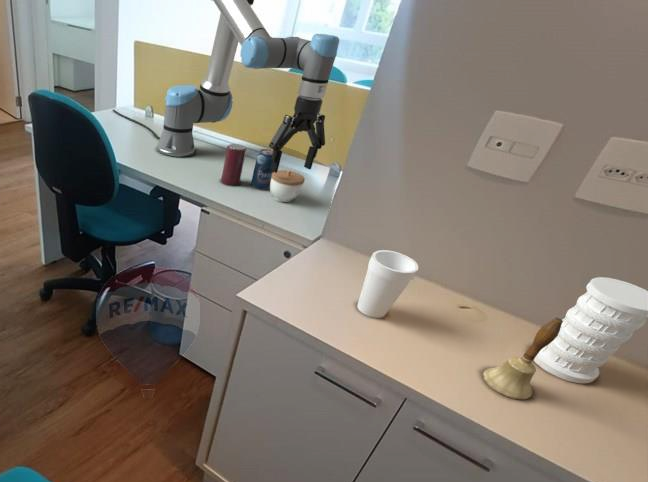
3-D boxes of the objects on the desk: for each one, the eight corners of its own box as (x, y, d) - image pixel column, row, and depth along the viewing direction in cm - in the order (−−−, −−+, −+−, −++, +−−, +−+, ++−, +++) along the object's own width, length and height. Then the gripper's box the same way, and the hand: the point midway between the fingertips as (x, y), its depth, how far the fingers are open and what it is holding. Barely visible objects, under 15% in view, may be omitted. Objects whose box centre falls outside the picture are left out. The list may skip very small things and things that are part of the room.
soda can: (255, 190, 155) (264, 155, 147) (247, 183, 160) (254, 148, 152) (273, 190, 157) (282, 155, 149) (264, 182, 162) (272, 148, 154)
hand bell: (487, 391, 85) (540, 327, 75) (479, 364, 91) (527, 301, 81) (536, 405, 83) (597, 341, 73) (524, 376, 89) (579, 313, 79)
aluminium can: (217, 179, 160) (223, 144, 152) (233, 178, 163) (240, 143, 155) (226, 186, 156) (233, 150, 148) (242, 185, 158) (250, 149, 150)
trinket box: (299, 207, 147) (307, 179, 140) (266, 202, 148) (273, 174, 142) (297, 194, 155) (305, 167, 149) (266, 190, 156) (273, 163, 150)
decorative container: (609, 383, 89) (685, 312, 78) (558, 383, 88) (627, 312, 77) (564, 345, 98) (626, 276, 87) (516, 345, 97) (573, 275, 85)
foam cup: (345, 296, 107) (366, 248, 99) (383, 299, 107) (407, 251, 99) (358, 320, 100) (382, 271, 92) (398, 323, 100) (426, 274, 92)
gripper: (283, 101, 124) (265, 176, 138) (351, 99, 133) (328, 170, 146) (268, 95, 130) (252, 168, 143) (334, 93, 138) (313, 162, 152)
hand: (290, 169), depth 145 cm, fingers open, 13 cm apart
